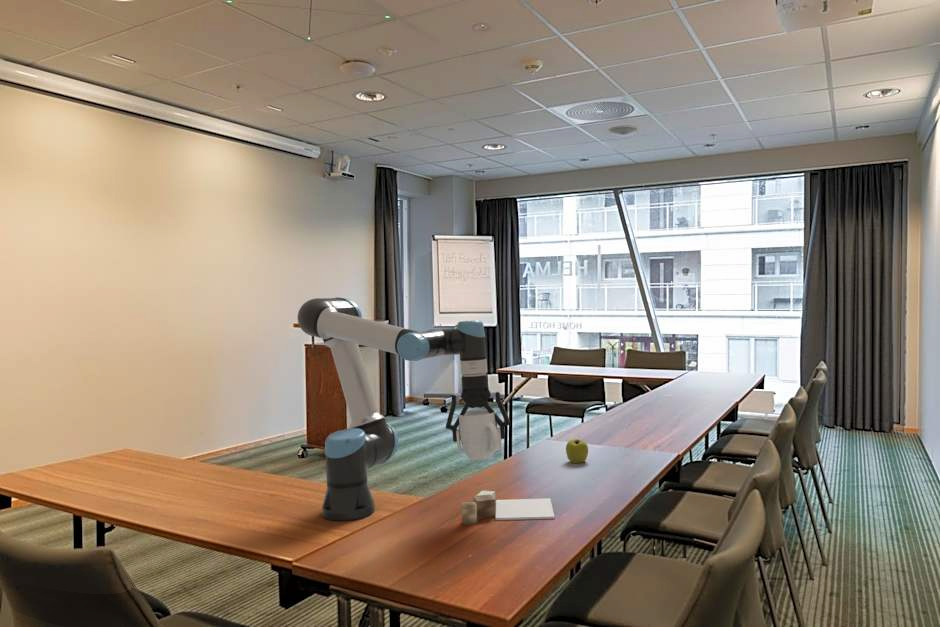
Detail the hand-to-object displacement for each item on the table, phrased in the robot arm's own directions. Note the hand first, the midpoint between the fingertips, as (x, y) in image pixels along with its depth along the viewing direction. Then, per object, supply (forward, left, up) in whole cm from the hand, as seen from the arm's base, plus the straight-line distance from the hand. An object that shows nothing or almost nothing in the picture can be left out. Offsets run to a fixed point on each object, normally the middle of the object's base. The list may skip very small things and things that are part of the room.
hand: (480, 451), depth 183 cm
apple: (+33, +53, -17) cm, 64 cm away
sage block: (+1, +4, -17) cm, 18 cm away
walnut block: (+1, -3, -17) cm, 18 cm away
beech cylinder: (-3, -8, -17) cm, 19 cm away
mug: (+1, 0, -2) cm, 2 cm away
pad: (+12, +1, -17) cm, 21 cm away
